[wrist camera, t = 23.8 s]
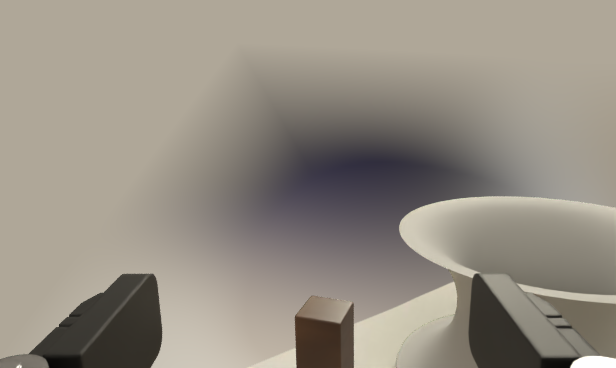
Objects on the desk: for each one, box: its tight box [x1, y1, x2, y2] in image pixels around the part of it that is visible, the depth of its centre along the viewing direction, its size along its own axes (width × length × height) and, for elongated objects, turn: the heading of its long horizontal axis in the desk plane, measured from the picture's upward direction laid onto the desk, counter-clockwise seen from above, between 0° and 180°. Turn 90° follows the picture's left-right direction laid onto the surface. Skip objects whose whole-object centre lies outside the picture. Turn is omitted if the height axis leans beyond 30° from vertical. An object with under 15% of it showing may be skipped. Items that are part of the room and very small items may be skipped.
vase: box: [396, 197, 616, 368], centre depth 42 cm, size 25×25×16 cm
